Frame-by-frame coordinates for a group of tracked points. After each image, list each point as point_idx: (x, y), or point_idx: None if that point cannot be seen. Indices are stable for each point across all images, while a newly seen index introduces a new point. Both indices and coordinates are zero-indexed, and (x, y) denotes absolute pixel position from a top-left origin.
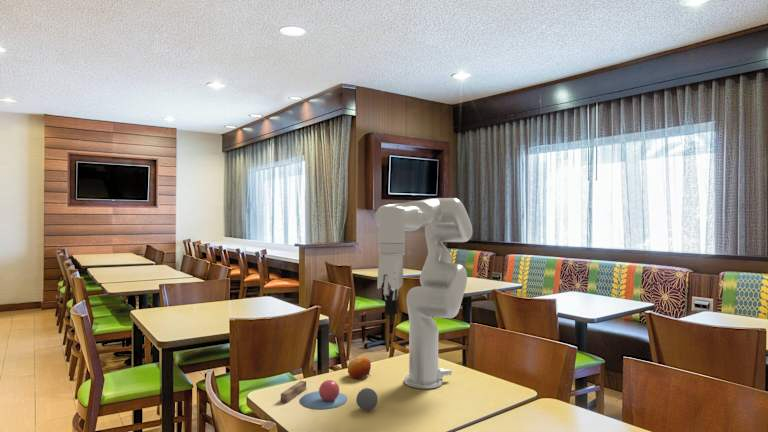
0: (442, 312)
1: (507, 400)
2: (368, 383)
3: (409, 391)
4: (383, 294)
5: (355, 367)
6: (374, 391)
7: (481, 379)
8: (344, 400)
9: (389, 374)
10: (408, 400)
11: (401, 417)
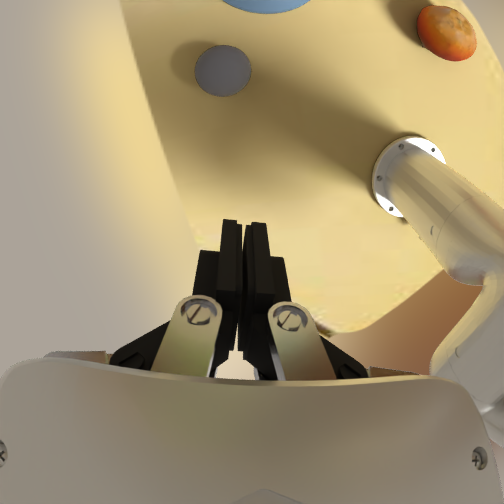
0: (443, 348)
1: (321, 309)
2: (396, 52)
3: (357, 148)
4: (45, 356)
5: (427, 21)
6: (229, 88)
7: (415, 274)
8: (268, 8)
9: (453, 102)
10: (302, 151)
11: (203, 151)
